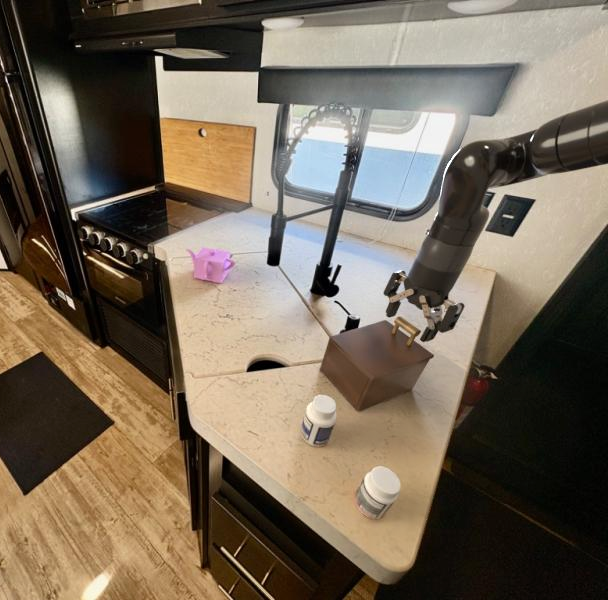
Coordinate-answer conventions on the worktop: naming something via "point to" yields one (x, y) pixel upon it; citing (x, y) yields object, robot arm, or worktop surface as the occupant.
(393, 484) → the pill bottle
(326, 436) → the pill bottle
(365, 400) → the chest
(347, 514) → the worktop surface
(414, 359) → the lid
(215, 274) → the teapot
